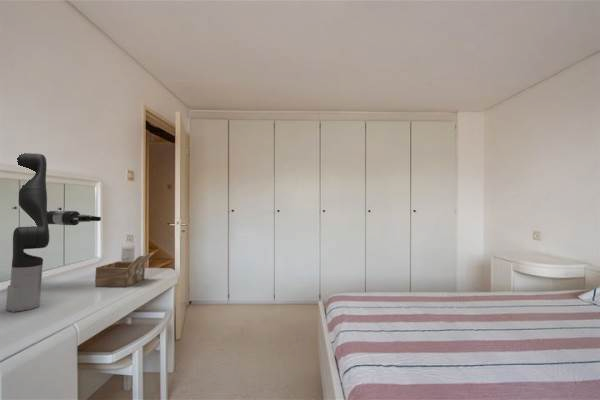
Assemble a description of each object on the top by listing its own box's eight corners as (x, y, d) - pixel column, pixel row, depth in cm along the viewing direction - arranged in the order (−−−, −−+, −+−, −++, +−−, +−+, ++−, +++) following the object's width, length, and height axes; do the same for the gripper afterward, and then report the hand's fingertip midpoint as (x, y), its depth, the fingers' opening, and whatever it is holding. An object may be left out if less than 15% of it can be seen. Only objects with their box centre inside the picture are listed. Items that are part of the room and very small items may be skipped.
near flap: (127, 266, 149) (128, 267, 149) (138, 256, 149) (139, 257, 149) (144, 261, 166) (145, 261, 166) (154, 252, 166) (155, 252, 166)
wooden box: (125, 287, 148) (126, 268, 148) (93, 286, 147) (95, 267, 148) (145, 279, 166) (145, 262, 167) (116, 278, 166) (117, 261, 167)
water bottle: (128, 276, 173) (131, 235, 174) (117, 275, 173) (119, 235, 174) (135, 273, 180) (138, 234, 181) (124, 273, 180) (127, 234, 181)
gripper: (56, 210, 141) (91, 211, 141) (77, 211, 154) (108, 211, 154) (55, 225, 140) (90, 226, 141) (76, 224, 154) (107, 225, 154)
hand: (99, 218), depth 147 cm, fingers closed
